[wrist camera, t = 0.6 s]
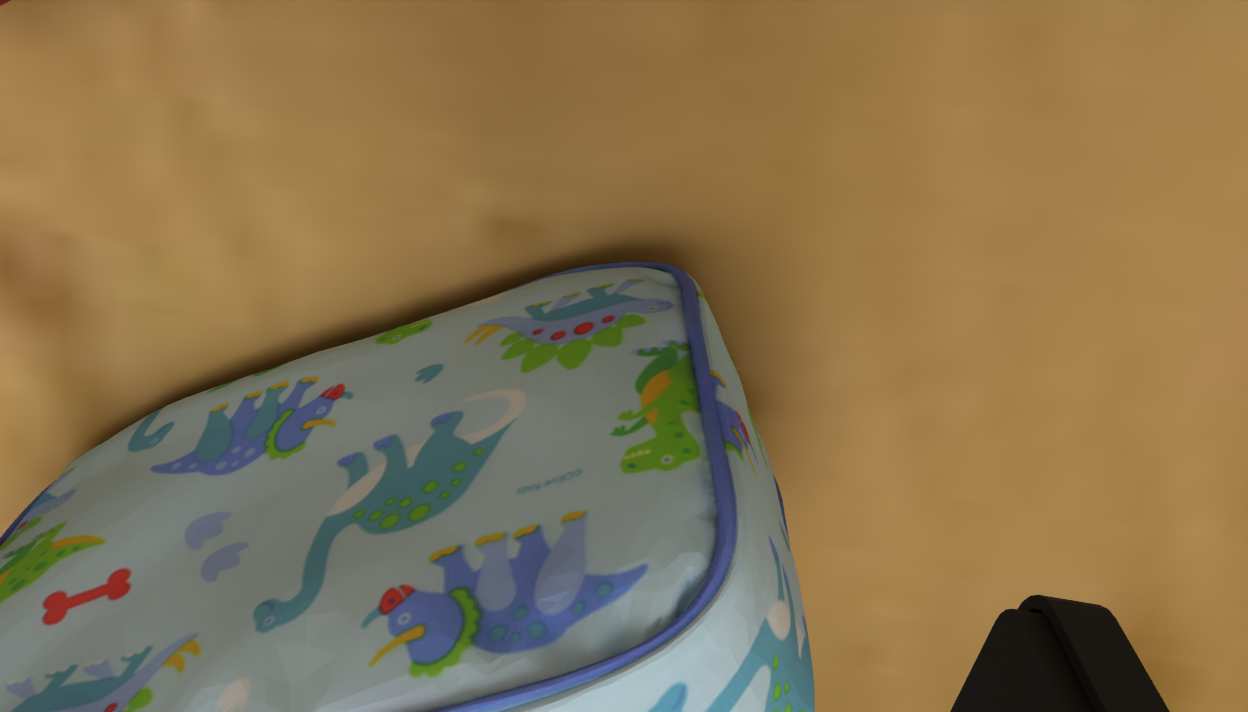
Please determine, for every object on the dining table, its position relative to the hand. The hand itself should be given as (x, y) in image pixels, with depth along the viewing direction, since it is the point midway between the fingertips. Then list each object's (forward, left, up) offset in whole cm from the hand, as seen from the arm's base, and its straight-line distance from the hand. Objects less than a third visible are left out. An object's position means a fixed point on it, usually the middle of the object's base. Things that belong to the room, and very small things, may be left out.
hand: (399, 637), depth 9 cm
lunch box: (+18, -1, -31) cm, 36 cm away
